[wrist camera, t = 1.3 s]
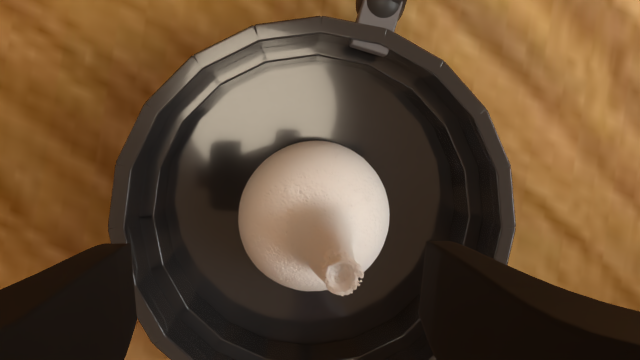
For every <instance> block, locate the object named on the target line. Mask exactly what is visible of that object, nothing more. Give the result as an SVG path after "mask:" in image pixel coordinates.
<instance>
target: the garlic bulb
mask: <svg viewBox="0 0 640 360" xmlns="http://www.w3.org/2000/svg"><path fill="white" fill-rule="evenodd" d="M389 216H390V214H389V204H388V198H387V195H386V191H385V188H384V186H383V183H382V182H381V180H380V178H379V176H378V175H377V173H376V171H375V170H374V169H373V168H372V167H371V166H370V165H369V163H368V162H367V161H366V160H365V159H364V158H362V157H361V156H360V155H358V154H357V153H355V152H354V151H352V150H351V149H348V148H346V147H344V146H342V145H339V144H336V143H331V142H327V141H305V142H299V143H295V144H293V145H290V146H287V147H285V148H283V149H281V150H279V151H277V152H275V153H274V154H272V155H271V156H269V157H268V158H267V159H266V160H265V161H264V162H263V163H262V164H260V166H259V167H258V168H257V169H256V170H255V171H254V173H253V174H252V176H251V177H250V179H249V180H248V182H247V184H246V186H245V188H244V190H243V193H242V196H241V200H240V205H239V215H238V224H239V232H240V237H241V240H242V243H243V246H244V248H245V250H246V253H247V254H248V256H249V257H250V259H251V260H252V262H253V263H254V264H255V266H256V267H257V268H258V269H259V270H260V271H261V272H262V273H263V274H265V275H266V276H267V277H268V278H270V279H272V280H273V281H275V282H277V283H279V284H281V285H283V286H286V287H289V288H292V289H295V290H300V291H323V290H329V291H330V292H331V293H333V294H336V295H341V296H344V295H349V294H350V293H351V294H352V293H353V290H356V289H357V286H360V284H359V283H358V282H362V280H360V281H359V280H358V278H359V277H360V278H363V277H364V273H363V272H364V271H366V270H367V269H368V268H369V267H370V266H371V264H372V263H373V262H374V260H375V259H376V258H377V256H378V255H379V253H380V251H381V249H382V247H383V245H384V242H385V239H386V236H387V233H388V228H389Z"/></svg>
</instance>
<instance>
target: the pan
mask: <svg viewBox="0 0 640 360" xmlns="http://www.w3.org/2000/svg"><path fill="white" fill-rule="evenodd" d="M351 40H357V41H362V42H367V43H372V44H377V45H382V46H383V47H385V48H387V49H388V50H389V51H388V54H387V55H386V56H384V57H381V56H378V55H374V54H371V53H368V52H365V51H361V50H358V49H355V48H352V47H350V46H349V43H350V41H351ZM305 141H327V142H331V143H336V144H339V145H342V146H344V147H346V148H348V149H351V150H352V151H354V152H355V153H357V154H358V155H360V156H361V157H362V158H364V159H365V160H366V161H367V162H368V163H369V165H370V166H371V167H372V168H373V169H374V170H375V171H376V173H377V175H378V176H379V178H380V180H381V182H382V183H383V186H384V188H385V191H386V195H387V198H388V204H389V214H390V216H389V228H388V233H387V236H386V239H385V242H384V245H383V247H382V249H381V251H380V253H379V255H378V256H377V258H376V259H375V260H374V262H373V263H372V264H371V266H370V267H369V268H368V269H367V270H366V271H364V272H363V273H364V277H363V278H360V277H359V278H358V280H359V281H360V280H362V282H358V283H359V284H360V286H357V289H356V290H353V293H352V294H351V293H350V294H349V295H344V296H341V295H336V294H333V293H331V292H330V291H329V290H323V291H300V290H295V289H292V288H289V287H286V286H283V285H281V284H279V283H277V282H275V281H273V280H272V279H270V278H268V277H267V276H266V275H265V274H263V273H262V272H261V271H260V270H259V269H258V268H257V267H256V266H255V264H254V263H253V262H252V260H251V259H250V257H249V256H248V254H247V253H246V250H245V248H244V246H243V243H242V240H241V237H240V232H239V224H238V215H239V205H240V200H241V196H242V193H243V190H244V188H245V186H246V184H247V182H248V180H249V179H250V177H251V176H252V174H253V173H254V171H255V170H256V169H257V168H258V167H259V166H260V164H262V163H263V162H264V161H265V160H266V159H267V158H268V157H269V156H271V155H272V154H274V153H275V152H277V151H279V150H281V149H283V148H285V147H287V146H290V145H293V144H295V143H299V142H305ZM515 227H516V223H515V211H514V199H513V187H512V174H511V165H510V163H509V160H508V158H507V156H506V153H505V151H504V149H503V146H502V144H501V142H500V139H499V137H498V134H497V132H496V130H495V127H494V125H493V123H492V120H491V118H490V115H489V113H488V111H487V110H486V108H485V107H484V105H483V104H482V103H481V102H480V101H479V100H478V99H477V98H476V96H475V95H474V94H473V93H472V92H471V91H470V90H469V88H468V87H467V86H466V85H465V84H464V83H463V82H462V81H461V79H460V78H459V77H458V76H457V75H456V74H455V73H454V71H453V70H452V69H451V68H450V67H449V66H448V65H447V64H446V62H444V61H443V60H442V59H440V58H438V57H436V56H435V55H433V54H431V53H429V52H428V51H426V50H424V49H422V48H421V47H419V46H417V45H415V44H414V43H412V42H410V41H409V40H407V39H405V38H403V37H402V36H400V35H398V34H396V33H395V32H393V31H391V30H389V29H386V28H382V27H377V26H372V25H367V24H362V23H357V22H352V21H347V20H342V19H337V18H332V17H326V16H322V17H321V16H315V17H307V18H300V19H292V20H285V21H277V22H270V23H262V24H256V25H253V26H250V27H248V28H246V29H244V30H242V31H240V32H238V33H236V34H234V35H232V36H230V37H228V38H226V39H224V40H222V41H220V42H218V43H216V44H214V45H212V46H210V47H208V48H206V49H204V50H202V51H200V52H198V53H196V54H194V55H193V56H191V57H190V58H189V59H188V60H187V61H186V62H185V63H184V64H183V65H182V66H181V67H180V68H179V69H178V70H177V71H176V72H175V73H174V74H173V75H172V76H171V77H170V78H169V79H168V80H167V81H166V82H165V83H164V84H163V85H162V86H161V87H160V88H159V89H158V90H157V91H156V92H155V93H154V94H153V95H152V96H151V97H150V98H149V99H148V100H147V101H146V103H145V104H144V105H143V107H142V109H141V111H140V114H139V116H138V118H137V120H136V122H135V124H134V126H133V128H132V130H131V132H130V134H129V136H128V138H127V140H126V142H125V144H124V147H123V149H122V151H121V153H120V155H119V157H118V159H117V161H116V165H115V172H114V180H113V189H112V197H111V206H110V214H109V222H108V232H109V236H110V241H111V244H118V243H131V255H132V266H133V278H134V289H135V301H136V312H137V318H138V320H139V322H140V323H141V325H142V327H143V328H144V330H145V332H146V333H147V335H148V337H149V338H150V340H151V342H152V343H153V344H154V345H155V346H156V347H157V348H158V349H159V350H160V351H162V352H163V353H164V354H165V355H166V356H167V357H168V358H170V359H171V360H436V358H435V356H434V354H433V352H432V350H431V348H430V345H429V343H428V340H427V337H426V334H425V331H424V328H423V325H422V322H421V319H420V316H419V304H420V295H421V285H422V276H423V266H424V257H425V248H426V241H452V242H455V243H458V244H461V245H464V246H466V247H468V248H471V249H473V250H475V251H477V252H480V253H482V254H484V255H486V256H488V257H490V258H492V259H495V260H497V261H499V262H501V263H503V264H505V265H507V264H508V259H509V255H510V251H511V247H512V242H513V238H514V234H515Z"/></svg>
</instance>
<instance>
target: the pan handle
mask: <svg viewBox="0 0 640 360" xmlns="http://www.w3.org/2000/svg"><path fill="white" fill-rule="evenodd" d="M406 1H407V0H356V11H357V14H358V15H357V19H356V22H357V23H362V24H367V25H372V26H377V27H382V28H386V29H389V30H391V31H393V32H394V31H395V27H396V24H397V21H398V20H399V19H400V17H401V15H402V13H403V11H404V7H405V4H406ZM349 46H350V47H352V48H355V49H358V50H361V51H365V52H368V53H371V54H374V55H378V56H381V57H384V56H386V55H387V54H388V51H389V50H388V49H387V48H385V47H383V46H382V45H377V44H372V43H367V42H362V41H357V40H351V41H350V43H349Z"/></svg>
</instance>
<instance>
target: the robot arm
mask: <svg viewBox="0 0 640 360" xmlns="http://www.w3.org/2000/svg"><path fill="white" fill-rule="evenodd" d="M419 316H420V319H421V322H422V325H423V328H424V331H425V334H426V337H427V340H428V343H429V345H430V348H431V350H432V352H433V354H434V356H435V358H436V360H640V312H639V311H635V310H631V309H627V308H623V307H619V306H616V305H612V304H609V303H605V302H602V301H598V300H595V299H592V298H589V297H586V296H583V295H580V294H577V293H574V292H571V291H568V290H565V289H563V288H560V287H557V286H554V285H552V284H550V283H547V282H545V281H542V280H540V279H537V278H535V277H532V276H530V275H528V274H525V273H523V272H521V271H519V270H516V269H514V268H512V267H510V266H507V265H505V264H503V263H501V262H499V261H497V260H495V259H492V258H490V257H488V256H486V255H484V254H482V253H480V252H477V251H475V250H473V249H471V248H468V247H466V246H464V245H461V244H458V243H455V242H452V241H426V248H425V257H424V266H423V276H422V285H421V295H420V304H419ZM136 321H137V312H136V301H135V289H134V278H133V266H132V255H131V243H118V244H101V245H97V246H95V247H92V248H90V249H87V250H85V251H83V252H81V253H79V254H77V255H74V256H72V257H70V258H68V259H66V260H64V261H62V262H60V263H58V264H56V265H54V266H52V267H50V268H48V269H45V270H43V271H41V272H39V273H37V274H35V275H33V276H30V277H28V278H26V279H24V280H21V281H19V282H17V283H15V284H12V285H10V286H8V287H6V288H3V289H1V290H0V360H124V358H125V356H126V353H127V350H128V347H129V344H130V341H131V338H132V335H133V331H134V328H135V325H136Z"/></svg>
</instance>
